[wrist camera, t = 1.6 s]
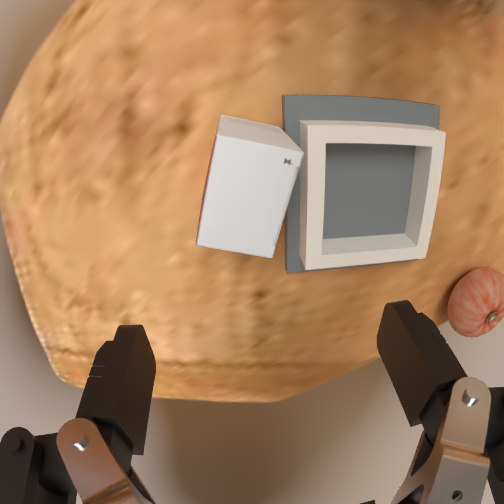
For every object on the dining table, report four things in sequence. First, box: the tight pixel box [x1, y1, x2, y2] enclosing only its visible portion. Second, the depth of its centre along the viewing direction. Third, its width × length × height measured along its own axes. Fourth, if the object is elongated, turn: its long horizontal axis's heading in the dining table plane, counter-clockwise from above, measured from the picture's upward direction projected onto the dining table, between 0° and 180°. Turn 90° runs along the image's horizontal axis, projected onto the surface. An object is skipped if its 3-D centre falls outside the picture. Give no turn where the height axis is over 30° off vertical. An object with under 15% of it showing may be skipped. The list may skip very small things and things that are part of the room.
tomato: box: [448, 267, 504, 337], centre depth 36 cm, size 11×11×8 cm
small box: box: [196, 114, 304, 258], centre depth 25 cm, size 8×6×10 cm
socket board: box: [282, 95, 446, 273], centre depth 29 cm, size 18×16×4 cm
